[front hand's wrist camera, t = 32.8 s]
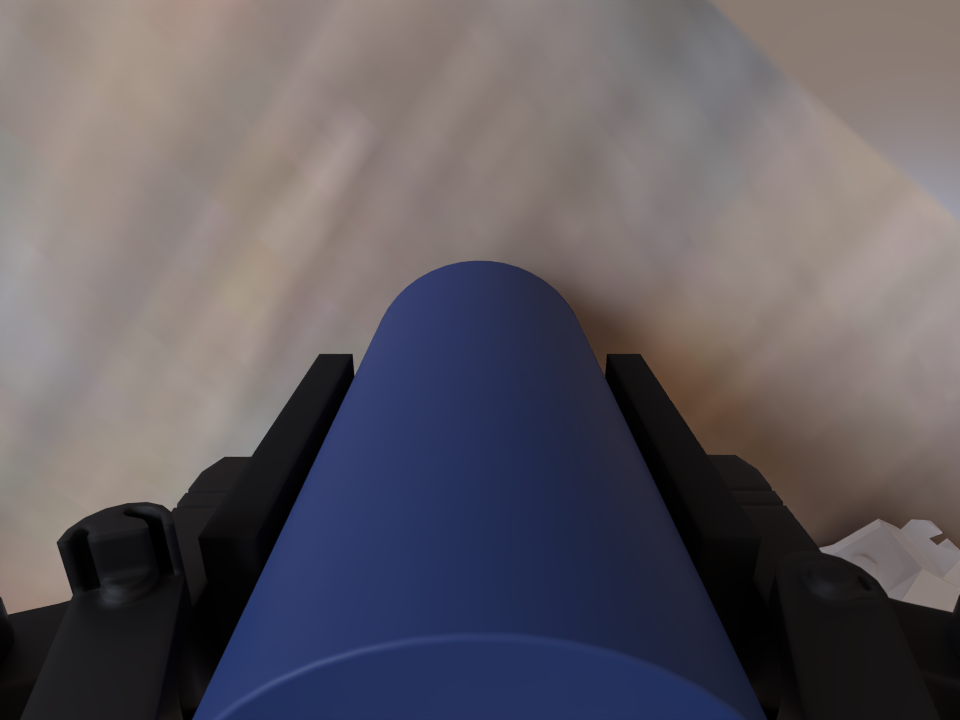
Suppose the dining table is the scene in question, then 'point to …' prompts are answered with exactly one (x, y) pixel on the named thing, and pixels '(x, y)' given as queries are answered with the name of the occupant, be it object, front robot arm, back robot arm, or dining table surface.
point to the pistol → (906, 561)
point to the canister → (479, 539)
